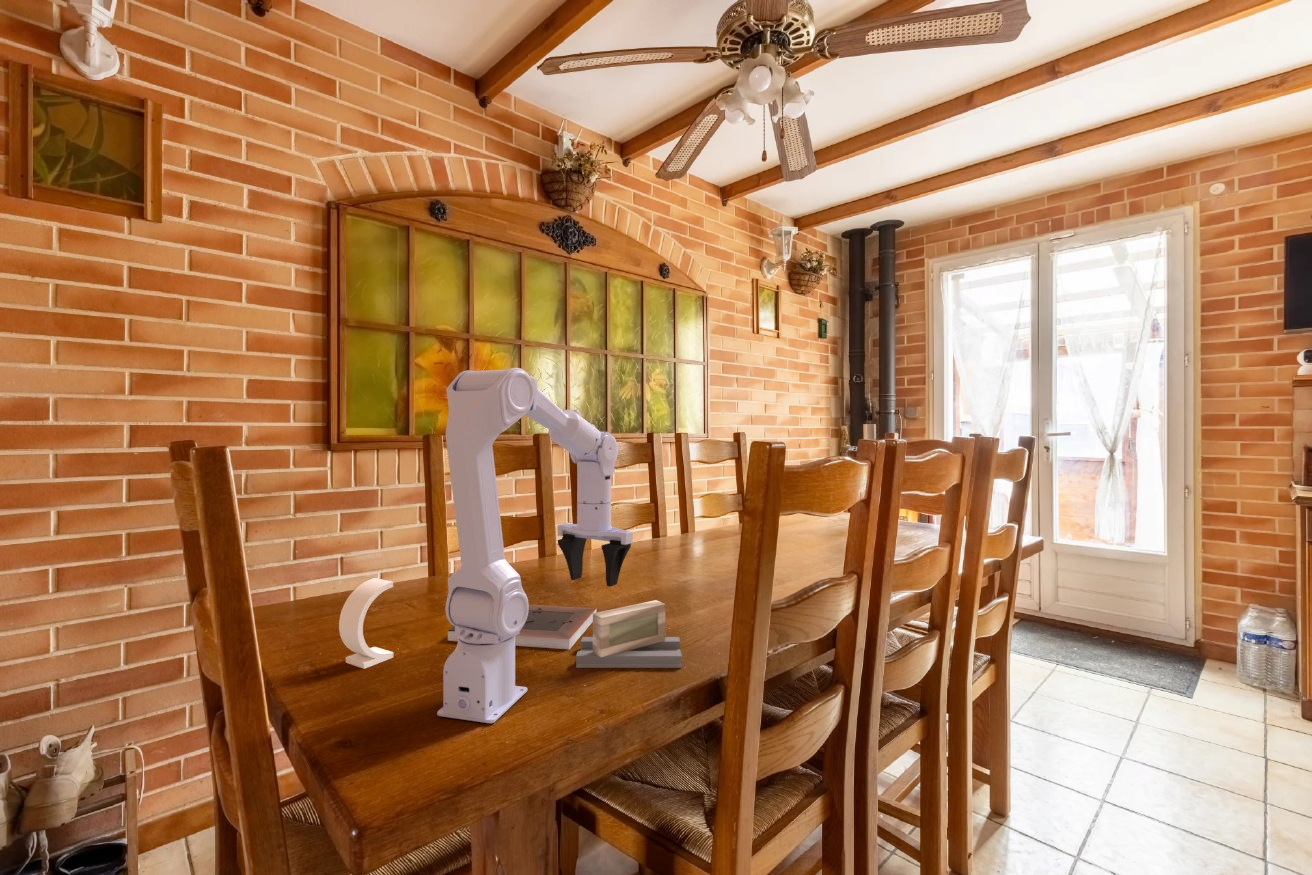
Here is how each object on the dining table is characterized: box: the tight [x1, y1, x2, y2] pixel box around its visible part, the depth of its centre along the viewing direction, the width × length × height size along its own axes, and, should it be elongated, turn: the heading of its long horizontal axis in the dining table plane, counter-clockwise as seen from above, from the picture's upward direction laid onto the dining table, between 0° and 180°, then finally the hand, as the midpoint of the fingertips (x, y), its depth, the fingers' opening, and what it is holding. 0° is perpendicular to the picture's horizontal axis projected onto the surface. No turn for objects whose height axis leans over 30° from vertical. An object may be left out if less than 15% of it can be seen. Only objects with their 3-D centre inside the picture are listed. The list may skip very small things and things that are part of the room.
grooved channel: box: [575, 636, 683, 669], centre depth 92 cm, size 8×16×2 cm, turn 91°
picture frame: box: [447, 604, 597, 650], centre depth 106 cm, size 16×2×22 cm
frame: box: [592, 599, 666, 657], centre depth 92 cm, size 3×12×6 cm, turn 126°
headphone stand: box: [338, 577, 394, 670], centre depth 90 cm, size 5×6×12 cm
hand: (593, 581), depth 99 cm, fingers open, 7 cm apart
